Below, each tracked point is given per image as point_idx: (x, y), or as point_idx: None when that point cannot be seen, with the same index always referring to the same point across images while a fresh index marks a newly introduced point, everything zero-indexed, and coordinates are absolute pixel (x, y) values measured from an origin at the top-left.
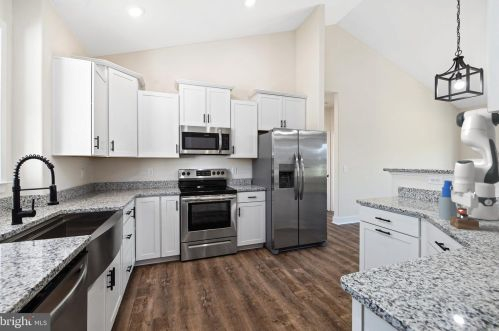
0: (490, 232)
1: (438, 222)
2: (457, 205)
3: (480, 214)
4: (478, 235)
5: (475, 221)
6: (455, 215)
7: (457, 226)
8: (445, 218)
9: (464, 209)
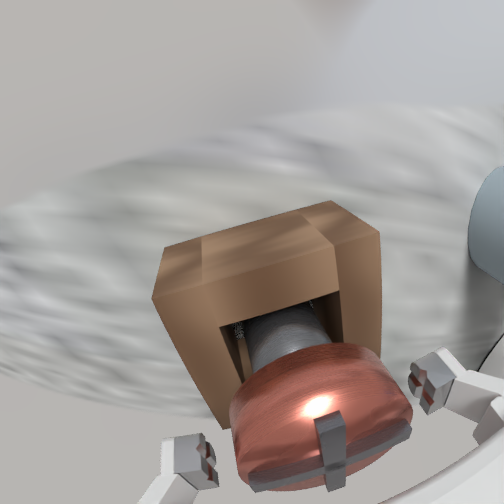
0: (203, 407)
1: (371, 108)
2: (485, 396)
3: (502, 371)
4: (58, 344)
5: (215, 413)
6: (497, 275)
7: (175, 252)
8: (483, 199)
9: (293, 467)
